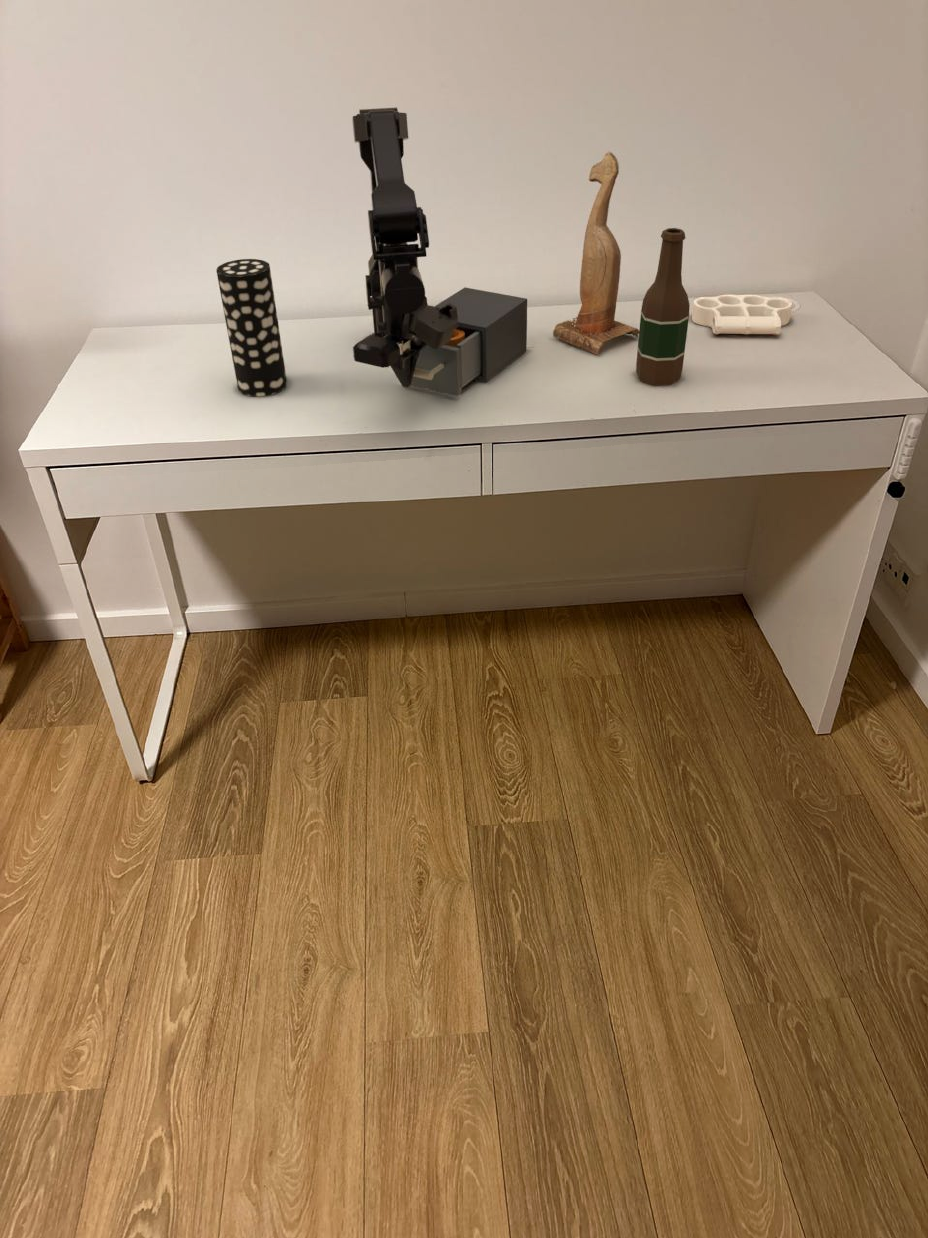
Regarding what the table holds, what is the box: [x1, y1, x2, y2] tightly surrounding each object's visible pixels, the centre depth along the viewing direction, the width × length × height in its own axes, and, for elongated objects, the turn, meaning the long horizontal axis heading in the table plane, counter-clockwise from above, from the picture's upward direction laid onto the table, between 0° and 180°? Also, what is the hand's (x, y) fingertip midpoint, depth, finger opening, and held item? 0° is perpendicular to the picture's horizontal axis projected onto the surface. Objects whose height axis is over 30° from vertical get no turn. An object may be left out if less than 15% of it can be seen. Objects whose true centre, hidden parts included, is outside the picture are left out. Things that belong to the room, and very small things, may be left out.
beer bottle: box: [635, 227, 691, 387], centre depth 156 cm, size 8×8×24 cm
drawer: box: [410, 327, 483, 397], centre depth 161 cm, size 18×11×8 cm, turn 150°
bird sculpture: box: [552, 150, 639, 355], centre depth 167 cm, size 11×12×32 cm
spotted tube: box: [215, 258, 288, 397], centre depth 159 cm, size 8×8×20 cm
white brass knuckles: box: [691, 293, 793, 336], centre depth 180 cm, size 3×18×15 cm
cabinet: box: [434, 286, 528, 383], centre depth 168 cm, size 15×13×10 cm
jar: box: [444, 328, 465, 348], centre depth 162 cm, size 5×5×6 cm
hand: (406, 386), depth 154 cm, fingers closed
